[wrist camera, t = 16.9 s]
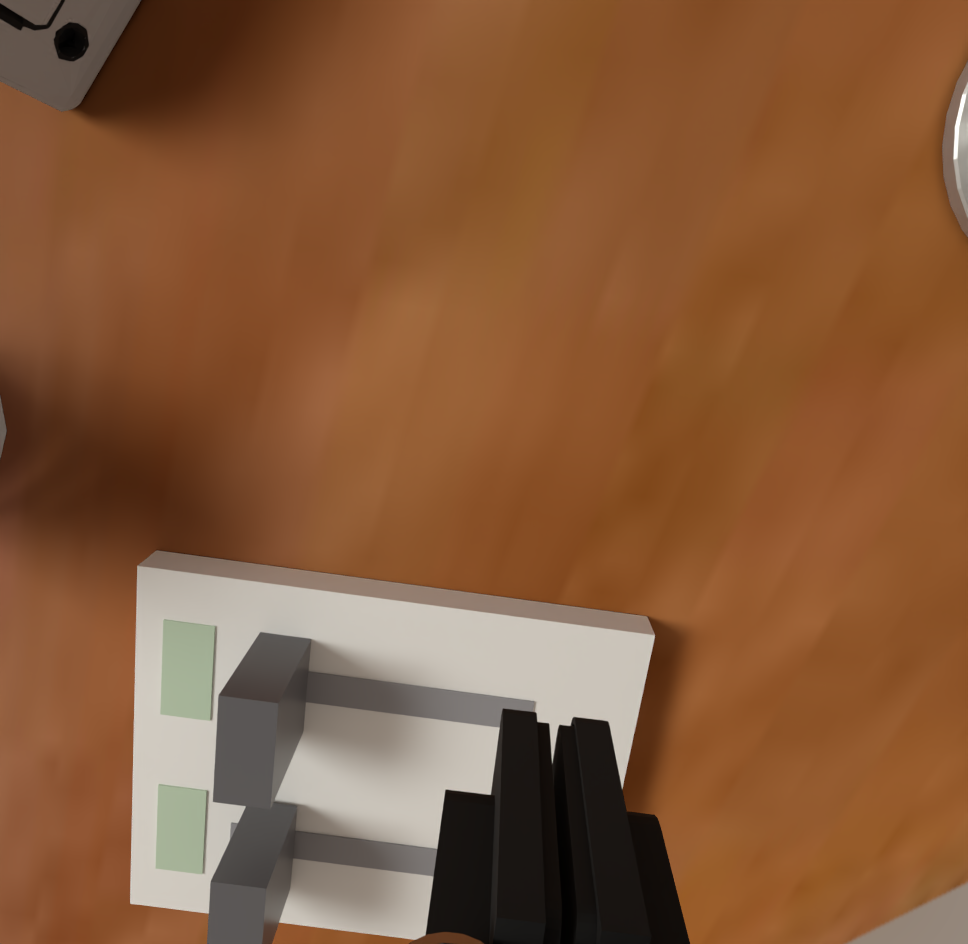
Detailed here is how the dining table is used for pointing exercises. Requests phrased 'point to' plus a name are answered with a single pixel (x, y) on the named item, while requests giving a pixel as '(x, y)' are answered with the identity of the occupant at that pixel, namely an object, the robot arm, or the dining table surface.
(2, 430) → the french press
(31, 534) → the dining table surface
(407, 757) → the white slider control panel
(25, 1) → the electrical switch
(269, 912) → the handle
